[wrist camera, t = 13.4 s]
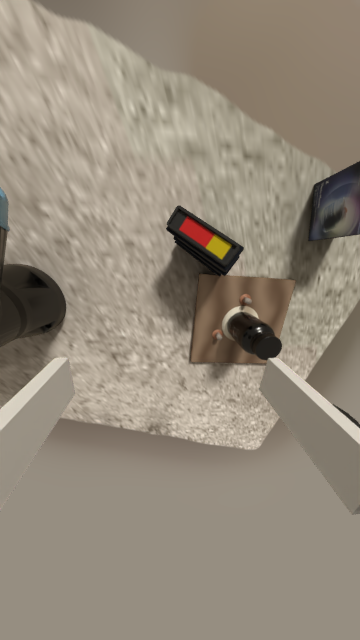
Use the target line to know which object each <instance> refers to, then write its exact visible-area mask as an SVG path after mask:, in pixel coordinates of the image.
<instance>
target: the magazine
mask: <svg viewBox="0 0 360 640" xmlns="http://www.w3.org/2000/svg"><path fill="white" fill-rule="evenodd" d="M167 225H168V227H167V228H166V229H167V231H168V232H170V233H171V234H173V235H174V240H176V241H175V243H176V244H178V245H179V246H180V247H181V248H183V249H184V250H185V251H187V252H188V253H189V254H191V255H192V256H193V257H194V258H196V259H197V260H198V261H200V262H201V263H202V264H204V265H205V266H206V267H207V268H209V269H210V270H211V271H213V272H214V273H215V274H217V275H218V276H221V274H222V275H224V276H225V275H226V274H227V273H228V272H229V270H230V269H231V268H232V266H233V265H234V264H235V262H236V261H237V260H238V258H239V255H240V254H241V252H242V251H243V249H244V247H242V246H241V245H239V244H238V243H236V242H235V241H233V240H232V239H230V238H229V237H227V236H226V235H224V234H223V233H221V232H219V231H218V230H216V229H215V228H213V227H212V226H210V225H209V224H207V223H206V222H204V221H203V220H201V219H200V218H198V217H196V216H195V215H193V214H192V213H190V212H189V211H187V210H186V209H184V208H183V207H181V206H177V207H176V209H175V210H174V212H173V214H172V215H171V217H170V219H169V220H168V222H167Z"/></svg>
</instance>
